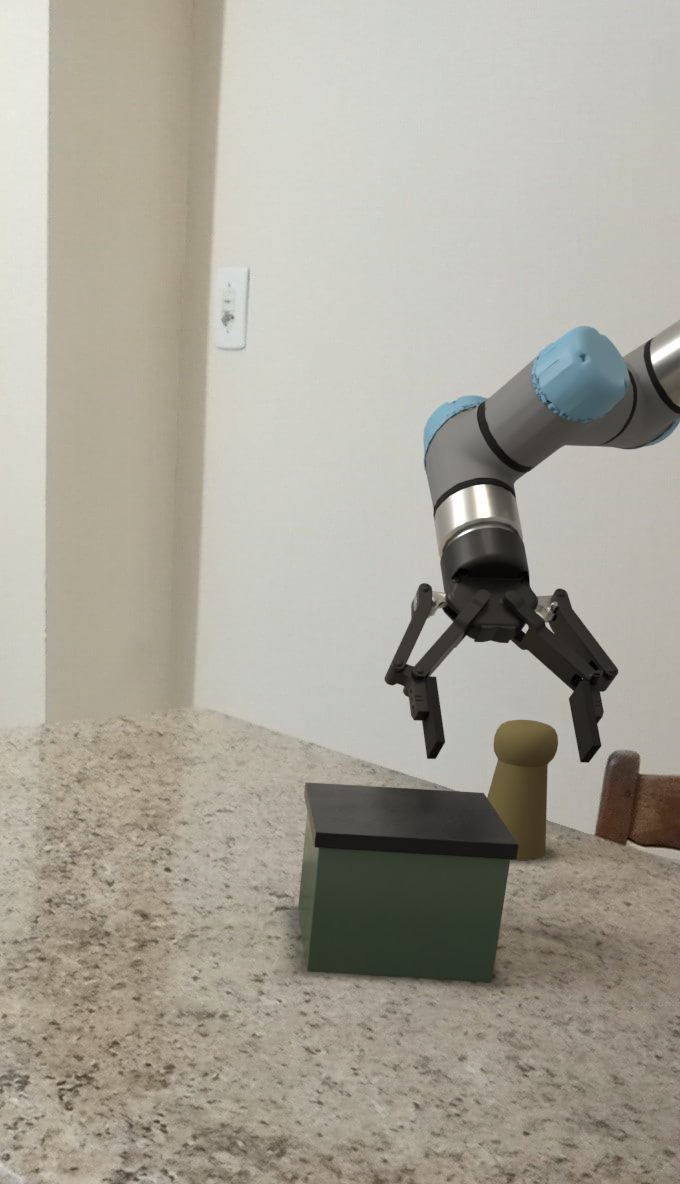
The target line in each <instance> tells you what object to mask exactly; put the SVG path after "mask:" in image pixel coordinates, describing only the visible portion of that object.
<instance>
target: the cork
mask: <svg viewBox="0 0 680 1184" xmlns="http://www.w3.org/2000/svg"><path fill="white" fill-rule="evenodd" d="M558 736H559V735H558V733H557V731H556V729H555V728H554V727H553V726H551V725H550V724H547V723H545V722H542V721H539V720H538V721H537V720H531V719H513V720H507V721H505V722H503V723H501V724H500V725H499V726H498V727H497V728H496V731H495V734H494V737H493V745H492V746H493V752H494V754H495V756H496V758H497V762H496V765H495V769H494V772H493V775H492V779H491V783H490V786H489V790H488V794H487V796H486V797H487V799H488V800H489V802H490V803H491V805H492V806H493V808H494V809H495V810H496V812H497V813H498V815H499V816H500V818H501V819H502V821H503V822H504V824H505V825H506V827H507V828H508V830H509V831H510V833H511V834H512V836H513V837H514V839H515V840H516V841H517V843H518V844H519V846H518V853H517V859H511V860H512V861H514V860H515V861H532V860H537V859H542V858H544V857H545V856H546V850H547V849H546V848H547V847H546V845H547V803H548V802H547V801H548V765H549V764H550V762H552V761H553V759H554V758H555V756H556V754H557V752H558V747H559V737H558Z"/></svg>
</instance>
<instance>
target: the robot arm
mask: <svg viewBox="0 0 680 1184" xmlns="http://www.w3.org/2000/svg"><path fill="white" fill-rule="evenodd" d="M679 425H680V319H678V320H677V321H675V322H674V323H672V324H671V325H669V326H668V327H666V328H664V329H663V330H661V331H660V332H659V333H657V334H655V335H654V336H653V337H652V338H650V339H649V340H647V341H646V342H643V344H641V345H639V346H638V347H636V348H634V349H633V350H632V351H630V352H628V353H627V354H625V355H623V356H622V354H621V352H620V351H619V349H618V348H617V347H616V345H615V344H614V343H613V342H612V341H611V340H610V338H608V336H606V335H605V334H601V333H600V332H599V330H597V329H596V328H595V327H591V326H589V325H579V326H575V327H574V328H571V329H569V331H567V332H566V333H565V334H563V335H562V336H560V337H559V338H558V339H557V340H555V341H553V342H551V343H549V344H547V345H546V346H545V347H544V348H543V349H541V350H540V351H539V352H538V354H537V355H536V357H534V359H532V360H531V361H530V362H528V364H527V365H525V366H524V367H523V368H522V369H521V370H519V371H518V372H517V373H516V374H515V375H514V376H513V377H512V378H510V379H509V380H508V381H507V382H505V384H503V385H502V386H501V387H500V388H499V389H497V390H496V391H495V392H494V393H493V394H492V395H491V396H489V397H488V398H487V397H483V396H481V395H462V396H459V397H457V399H456V400H454V401H451V402H448V401H445V402H444V403H442V404H440V406H438V407H437V408H436V409H435V410H434V411H433V412H432V413H431V414H430V416H429V418H428V419H427V421H426V423H425V426H424V429H423V438H422V439H423V456H424V457H423V467H424V471H425V475H426V478H427V483H428V489H429V493H430V497H431V499H430V500H431V503H432V507H433V508H432V509H433V513H432V514H433V522H434V523H433V525H434V529H435V536H436V545H437V551H438V556H439V558H440V561H439V566H440V572H441V580H442V586H443V587H442V588H443V592H441V591H434V590H433V587H432V585H430V584H429V583H427V582H423V583H420V584H419V586H418V588H417V590H416V593H415V595H414V597H413V599H412V601H411V604H410V621H409V623H408V625H407V628H406V630H405V632H404V634H403V637H402V638H401V641H400V643H399V645H398V647H397V649H396V651H395V654H394V656H393V658H392V660H391V662H390V664H389V667H388V668H387V671H386V673H385V675H384V682H385V683H386V684H387V685H388V686H395V685H397V684H398V685H399V686H403V689H402V694H403V695H404V696H406V697H408V702H409V709H410V717H411V718H412V720H413V721H419V722H420V721H421V723H422V731H423V738H424V746H425V754H426V759H427V760H436V759H437V757H439V754H440V752H441V750H442V749H443V747H444V745H445V743H446V738H445V737H446V736H445V731H444V724H443V723H444V722H443V716H442V708H441V702H440V694H439V687H438V680H437V676H432V674H434V672H435V671H436V670H437V669H438V668H439V666H441V664H442V663H443V662H444V661H445V660H446V659H447V658H448V656H449V655H450V654H451V653H452V652H453V650H454V649H456V648H457V647H458V646H459V645H460V644H461V642H462V641H463V640H465V638H466V637H468V638H470V639H472V640H473V641H474V643H487V642H490V641H491V642H494V643H497V644H509V642H510V641H511V642H512V643H513V644H515V646H516V647H518V648H519V649H520V650H522V651H528V652H529V653H530V654H532V656H533V657H535V658H536V659H537V660H538V661H539V662H540V663H541V664H543V665H544V667H546V668H547V669H548V670H549V671H550V672H551V673H552V674H554V675H555V676H556V677H557V678H558V679H559V680H560V681H561V682H563V683H564V685H566V686H567V687H568V688H570V690H572V691H573V692H572V693H571V695H570V696H569V697H568V702H569V708H570V714H571V718H572V719H571V720H572V723H573V729H574V730H573V731H574V735H575V740H576V747H577V751H578V757H579V762H580V763H586V764H587V763H590V762H591V760H592V759H593V758H594V757H595V755H596V754H597V753H598V751H599V750H600V749H601V747H602V741H601V736H600V730H599V726H598V724H599V722H600V721H601V720H602V718H603V717H604V716H603V715H604V712H605V711H604V706H603V702H602V701H603V700H602V695H601V693H603V692H606V691H607V690H608V688H609V687H610V685H611V684H612V683H613V682H614V680H615V679H616V677H617V676H618V675H619V669H618V667H617V666H616V664H615V662H613V660H612V659H611V657H610V656H609V655H608V654H607V653H606V651H605V650H604V649H603V647H602V646H601V644H600V642H598V641H597V639H596V638H595V636H593V634H592V633H591V631H590V630H589V629H588V628H587V626H586V625H585V623H584V621H582V620H581V618H580V617H579V616H578V614H577V613H576V611H575V610H574V609H573V607H572V603H571V600H570V597H569V594H568V592H567V591H566V590H565V589H563V588H557V589H555V590H554V592H553V594H552V595H536V593H535V592H534V590H533V588H532V587H531V584H530V583H531V581H530V580H531V579H530V569H529V563H528V558H527V552H526V547H525V542H524V540H523V539H524V536H523V535H524V534H523V530H522V523H521V519H520V513H519V508H518V503H517V494H516V489H515V483H516V482H517V481H518V480H520V479H521V478H522V477H523V476H524V475H526V474H527V473H529V472H531V471H532V470H533V469H535V468H536V467H537V466H539V465H540V464H541V463H542V462H544V461H545V460H546V459H548V458H549V457H550V456H552V455H553V454H554V453H556V452H557V451H559V450H560V449H561V448H563V447H565V446H570V447H571V446H572V447H573V446H576V447H602V448H604V447H605V448H614V449H620V450H638V449H641V448H644V447H650V446H651V447H652V446H654V445H656V444H659V443H661V442H662V441H664V440H666V439H667V438H669V436H671V435H672V433H674V431H675V430H676V428H677V427H678V426H679ZM439 609H441V610H442V611H443V613H444V614H445V615H446V616H447V617H448V618H449V619H450V620H451V624H450V625H449V626H448V627H447V629H446V630H445V631H444V632H443V633H442V634H441V635H440V637H438V639H437V640H436V641H435V642H434V643H433V644H432V646H430V648H429V649H428V650H427V651H426V652H425V653H424V655H422V657H421V658H420V659H419V660H418V661H417V663H415V665H411V664H408V661H409V659H410V656H411V654H412V652H413V650H414V648H415V645H417V644H416V643H417V642H418V639H419V637H420V635H421V633H422V631H423V628H424V627H425V624H426V622H427V620H428V619H430V617H434V616H435V615H436V613H437V611H438V610H439ZM546 623H548V625H549V627H550V629H551V630H550V629H549V628H548V627H547V626H546ZM526 625H527V627H528V629H527V631H526V632H524V631H523V629H524V628H525V626H526Z"/></svg>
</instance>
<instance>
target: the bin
mask: <svg viewBox="0 0 680 1184" xmlns="http://www.w3.org/2000/svg"><path fill="white" fill-rule="evenodd" d="M487 797H488V796H487V795H486V794H485V793H484V792H475V791H459V790H442V789H441V790H440V789H424V788H409V787H408V788H406V787H389V786H372V785H357V784H340V783H323V782H321V783H320V782H305V783H304V792H303V798H304V801H305V805H306V806H305V807H306V821H305V832H304V842H303V852H302V863H301V873H300V884H299V895H298V896H299V897H298V907H297V912H298V917H299V918H298V919H299V924H300V925H299V926H300V932H301V938H302V939H301V940H302V946H303V952H304V953H303V954H304V960H305V967H306V971H307V972H321V973H335V974H336V973H337V974H351V975H366V976H367V975H368V976H383V977H398V978H399V977H400V978H415V979H430V980H431V979H432V980H444V981H445V980H446V981H460V982H461V981H462V982H475V983H476V982H477V983H492V982H493V976H494V970H495V964H496V956H497V950H498V945H499V943H498V942H499V937H500V930H501V923H502V915H503V910H504V903H505V898H506V890H507V885H508V879H509V871H510V865H511V860H512V859H517V853H518V846H519V844H518V843H517V841H516V840H515V839H514V837H513V836H512V834H511V833H510V831H509V830H508V828H507V827H506V825H505V824H504V822H503V821H502V819H501V818H500V816H499V815H498V813H497V812H496V810H495V809H494V808H493V806H492V805H491V803H490V802H489V800H488V799H487Z"/></svg>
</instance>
